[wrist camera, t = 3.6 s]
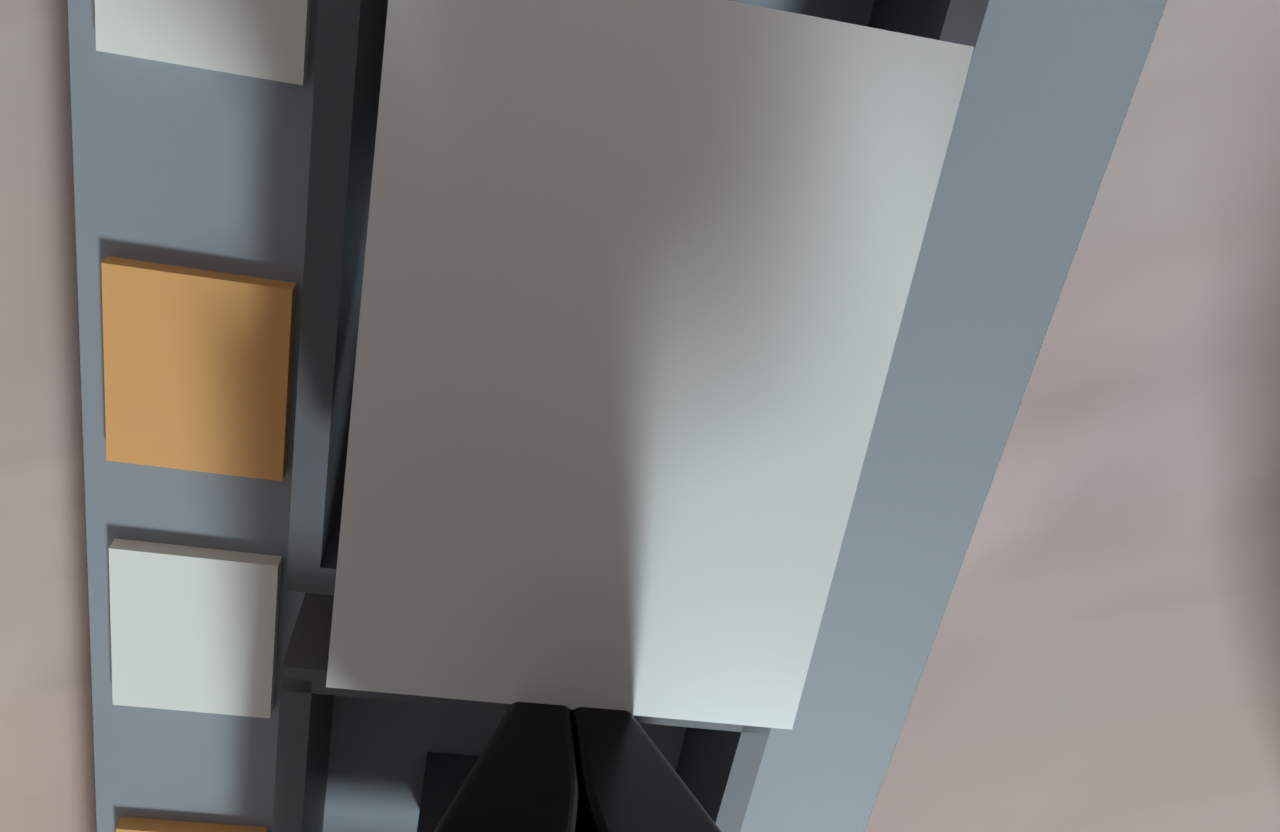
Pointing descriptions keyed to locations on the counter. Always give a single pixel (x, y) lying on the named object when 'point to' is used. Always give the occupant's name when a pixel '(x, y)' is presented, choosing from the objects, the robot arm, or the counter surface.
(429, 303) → the rocker
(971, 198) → the switch panel
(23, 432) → the counter surface
